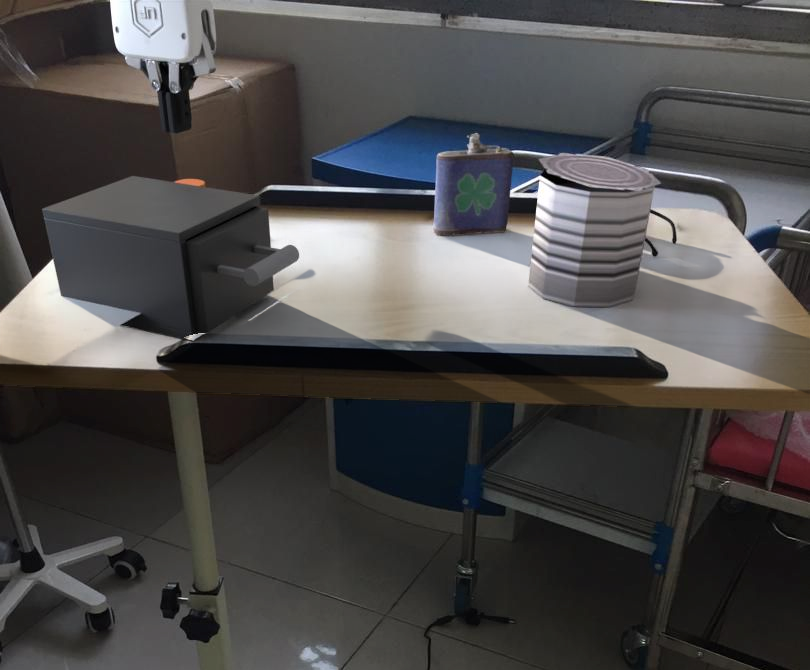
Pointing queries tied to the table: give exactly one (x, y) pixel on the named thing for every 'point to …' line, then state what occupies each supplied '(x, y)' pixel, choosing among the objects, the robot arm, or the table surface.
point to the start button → (192, 182)
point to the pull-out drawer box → (233, 266)
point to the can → (589, 229)
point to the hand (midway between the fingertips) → (177, 130)
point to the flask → (472, 189)
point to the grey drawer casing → (137, 247)
